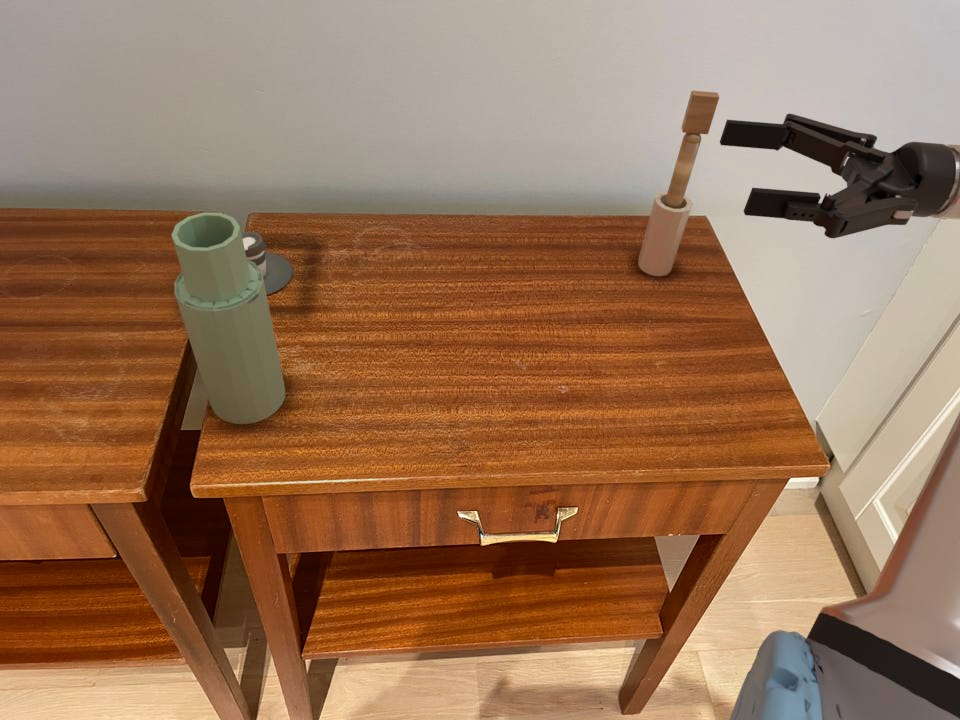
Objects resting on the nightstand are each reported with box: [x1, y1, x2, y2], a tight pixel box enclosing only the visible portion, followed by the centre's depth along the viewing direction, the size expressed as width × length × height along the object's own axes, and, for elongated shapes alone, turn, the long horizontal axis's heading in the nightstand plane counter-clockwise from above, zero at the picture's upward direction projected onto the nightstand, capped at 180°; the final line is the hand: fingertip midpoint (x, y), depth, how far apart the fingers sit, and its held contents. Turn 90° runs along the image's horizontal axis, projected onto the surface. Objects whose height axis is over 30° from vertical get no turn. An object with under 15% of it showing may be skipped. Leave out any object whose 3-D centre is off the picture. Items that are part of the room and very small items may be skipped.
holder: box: [637, 190, 694, 277], centre depth 83 cm, size 4×4×9 cm
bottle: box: [170, 211, 286, 425], centre depth 62 cm, size 7×7×19 cm
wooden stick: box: [664, 90, 720, 209], centre depth 78 cm, size 2×3×21 cm
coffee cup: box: [241, 231, 294, 296], centre depth 79 cm, size 12×12×5 cm
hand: (734, 164), depth 76 cm, fingers open, 13 cm apart
